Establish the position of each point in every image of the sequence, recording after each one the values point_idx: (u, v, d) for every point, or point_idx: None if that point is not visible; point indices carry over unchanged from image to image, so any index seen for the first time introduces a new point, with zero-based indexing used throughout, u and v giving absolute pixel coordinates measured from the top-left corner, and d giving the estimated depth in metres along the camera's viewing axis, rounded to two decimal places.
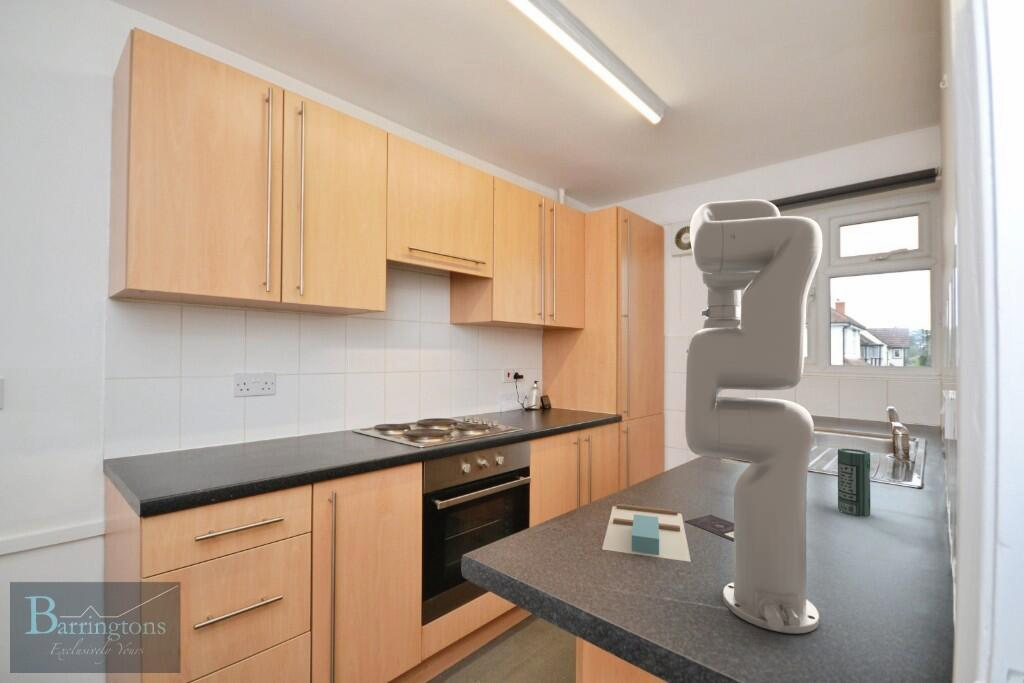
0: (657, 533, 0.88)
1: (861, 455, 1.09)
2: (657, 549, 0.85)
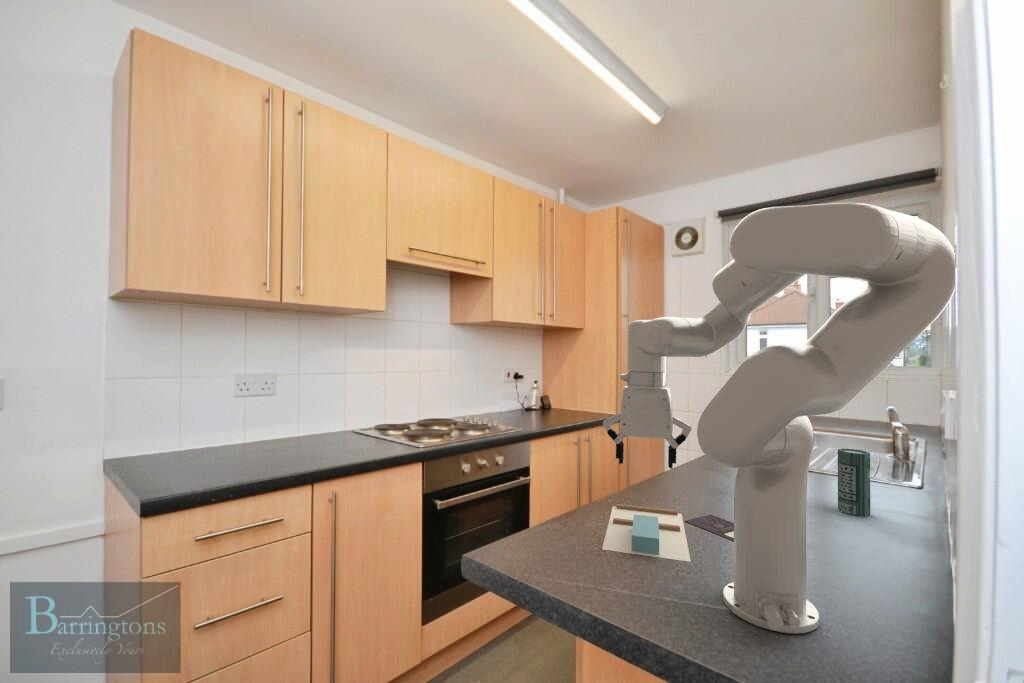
0: (657, 533, 0.88)
1: (861, 455, 1.09)
2: (657, 549, 0.85)
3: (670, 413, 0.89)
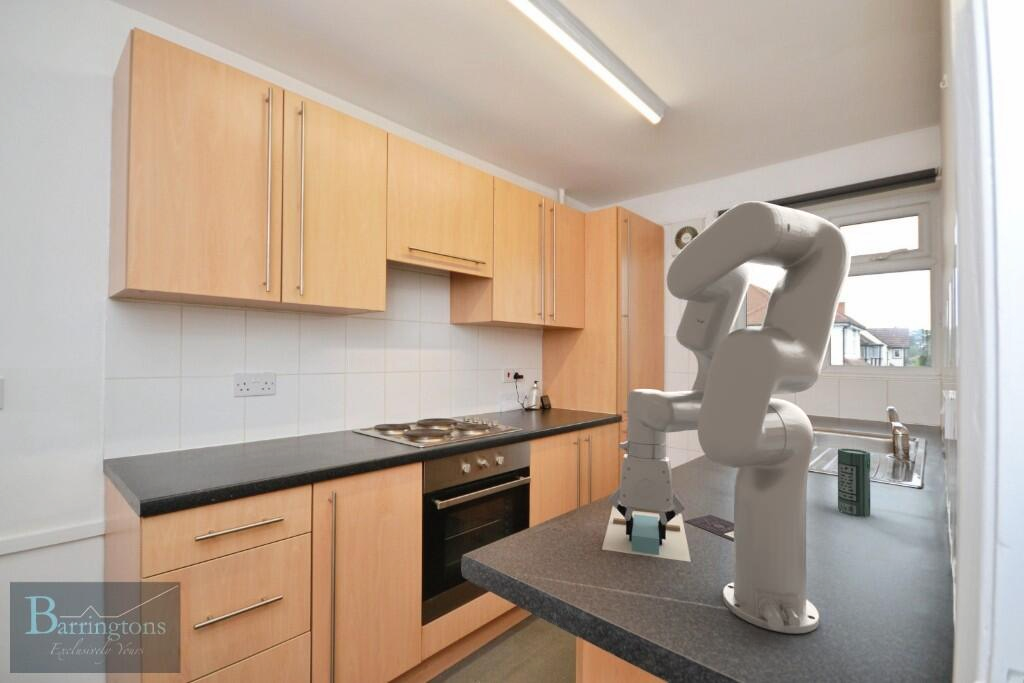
0: (657, 533, 0.88)
1: (861, 455, 1.09)
2: (657, 549, 0.85)
3: (670, 486, 0.88)
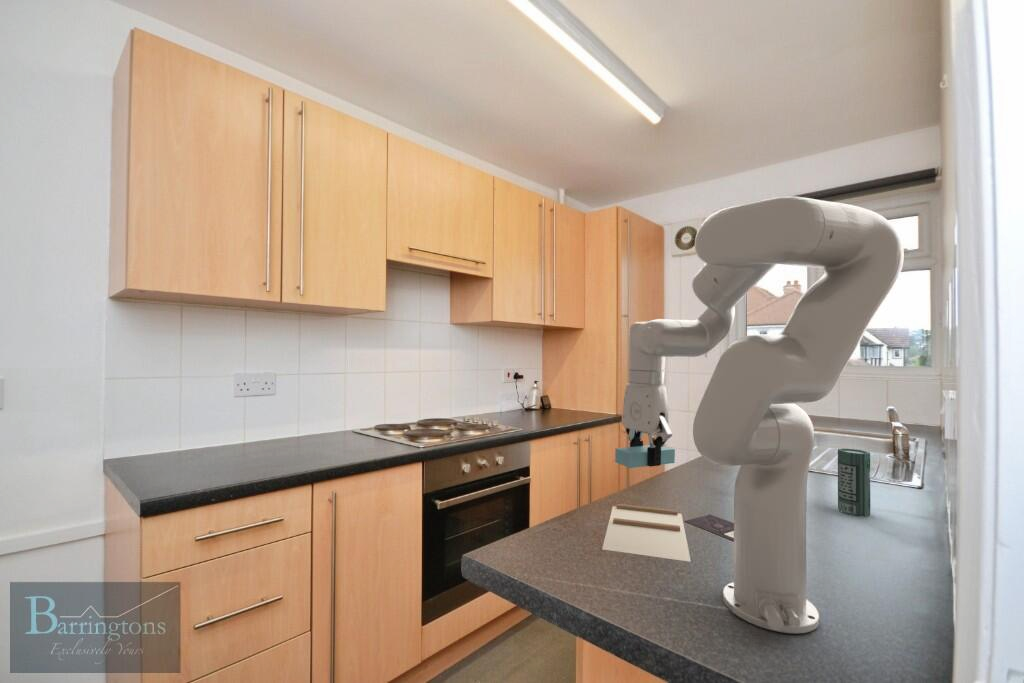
0: (639, 452, 0.95)
1: (861, 455, 1.09)
2: (629, 463, 0.94)
3: (651, 410, 0.93)
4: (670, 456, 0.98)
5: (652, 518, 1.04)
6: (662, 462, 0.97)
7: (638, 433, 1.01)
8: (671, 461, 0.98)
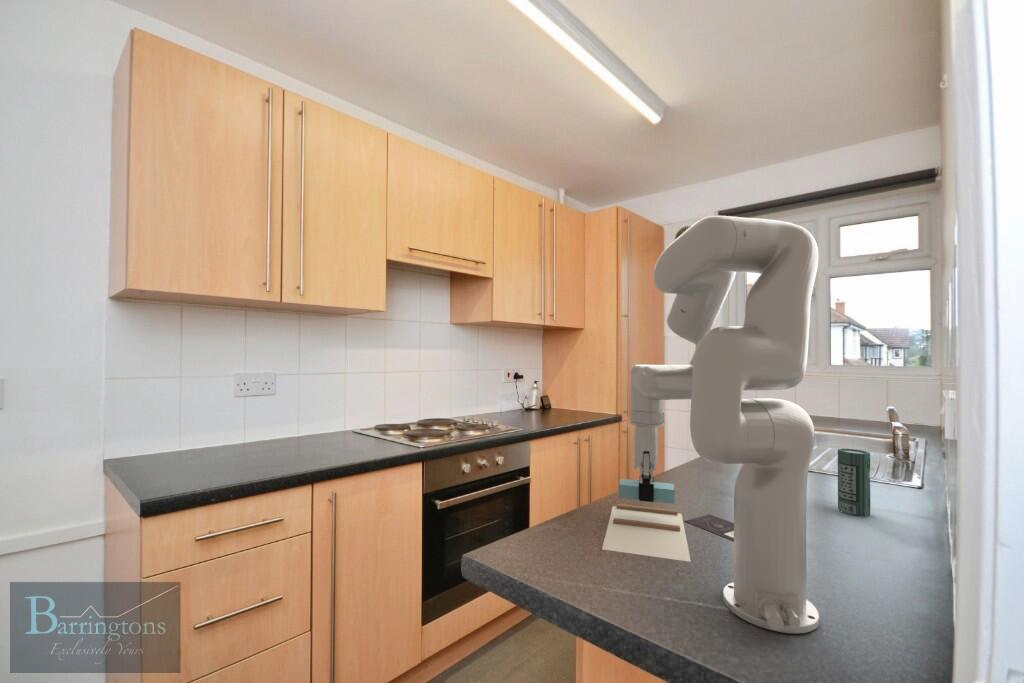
0: (630, 485, 1.03)
1: (861, 455, 1.09)
2: None
3: (635, 447, 1.01)
4: (668, 496, 1.00)
5: (652, 518, 1.04)
6: (658, 500, 1.01)
7: (650, 469, 1.07)
8: (669, 501, 1.00)
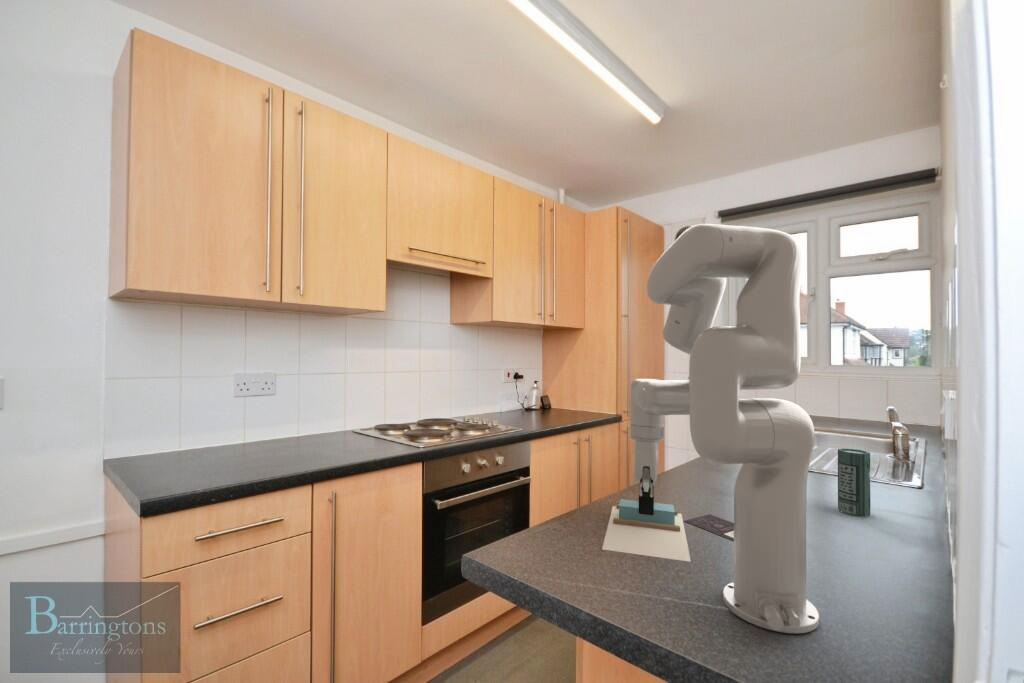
0: (630, 506, 1.03)
1: (861, 455, 1.09)
2: None
3: (635, 462, 1.00)
4: (669, 518, 1.00)
5: None
6: (658, 521, 1.01)
7: None
8: (670, 523, 1.00)
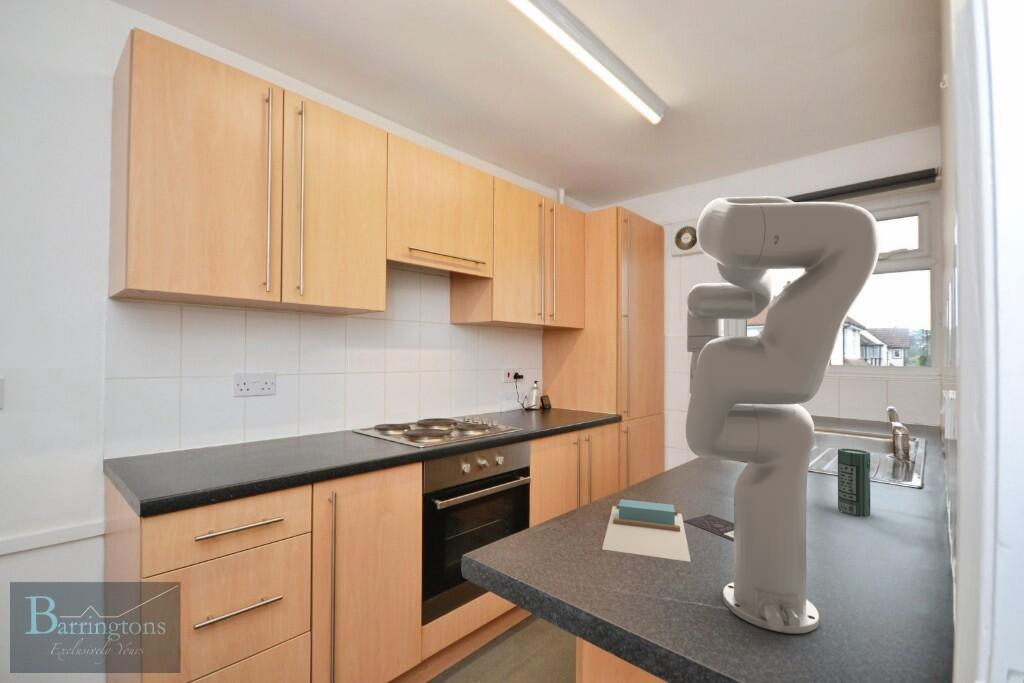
0: (630, 506, 1.03)
1: (861, 455, 1.09)
2: None
3: None
4: (669, 518, 1.00)
5: None
6: (658, 521, 1.01)
7: None
8: (670, 523, 1.00)
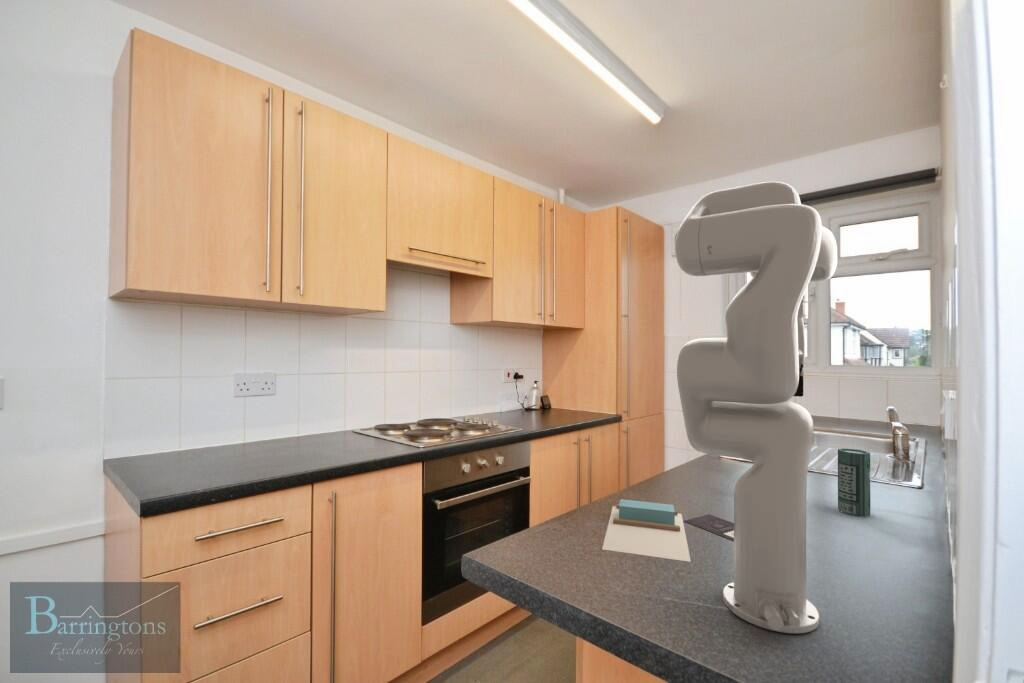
0: (630, 506, 1.03)
1: (861, 455, 1.09)
2: None
3: None
4: (669, 518, 1.00)
5: None
6: (658, 521, 1.01)
7: None
8: (670, 523, 1.00)
